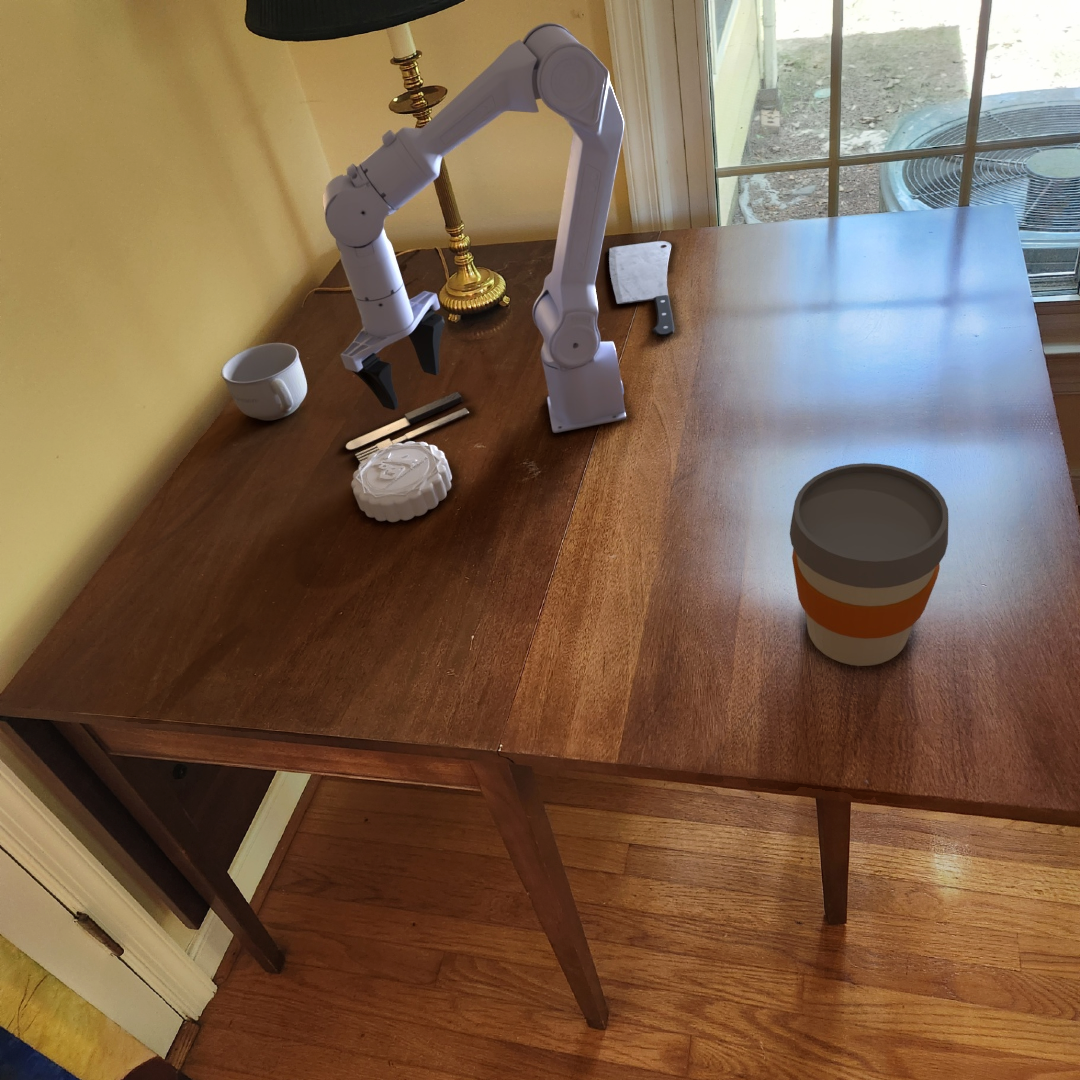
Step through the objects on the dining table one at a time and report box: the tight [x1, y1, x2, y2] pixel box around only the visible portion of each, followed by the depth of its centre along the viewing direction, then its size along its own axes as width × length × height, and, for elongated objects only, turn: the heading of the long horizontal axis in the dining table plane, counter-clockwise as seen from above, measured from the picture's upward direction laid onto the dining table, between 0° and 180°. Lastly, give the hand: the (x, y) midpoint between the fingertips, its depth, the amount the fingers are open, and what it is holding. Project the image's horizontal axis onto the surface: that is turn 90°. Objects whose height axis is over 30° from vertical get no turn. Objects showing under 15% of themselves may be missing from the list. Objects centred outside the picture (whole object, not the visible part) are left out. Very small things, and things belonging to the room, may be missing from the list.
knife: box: [345, 391, 464, 452], centre depth 121 cm, size 17×2×1 cm, turn 117°
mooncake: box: [350, 440, 453, 523], centre depth 110 cm, size 12×12×4 cm
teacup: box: [220, 342, 308, 421], centre depth 126 cm, size 14×11×8 cm
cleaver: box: [608, 240, 676, 338], centre depth 136 cm, size 29×1×10 cm
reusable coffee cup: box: [789, 462, 949, 667], centre depth 79 cm, size 13×13×15 cm
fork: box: [354, 407, 470, 465], centre depth 119 cm, size 16×2×1 cm, turn 117°
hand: (411, 389), depth 109 cm, fingers open, 7 cm apart
